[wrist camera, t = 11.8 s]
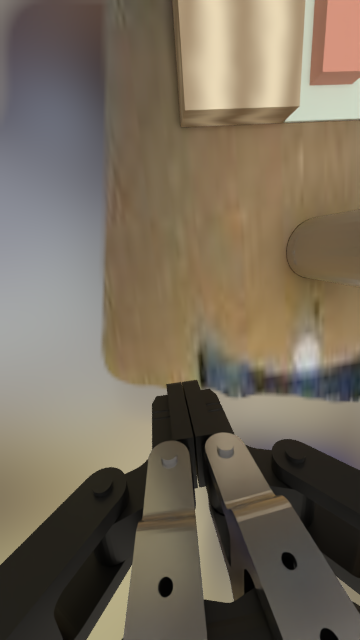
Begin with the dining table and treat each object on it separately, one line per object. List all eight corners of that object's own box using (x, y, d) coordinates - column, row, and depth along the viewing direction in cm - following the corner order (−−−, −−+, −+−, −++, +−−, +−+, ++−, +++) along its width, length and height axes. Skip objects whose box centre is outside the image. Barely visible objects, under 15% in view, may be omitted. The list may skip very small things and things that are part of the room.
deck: (288, -41, 28) (310, -87, 24) (282, 123, 32) (299, 106, 29) (169, -43, 27) (172, -93, 23) (180, 127, 31) (185, 110, 27)
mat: (395, -39, 29) (398, -43, 29) (375, 119, 34) (377, 117, 33) (289, -41, 28) (291, -45, 27) (283, 123, 32) (285, 121, 32)
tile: (330, -31, 26) (315, -8, 29) (322, 71, 29) (309, 85, 31) (379, -30, 27) (361, -8, 29) (368, 70, 29) (351, 84, 32)
